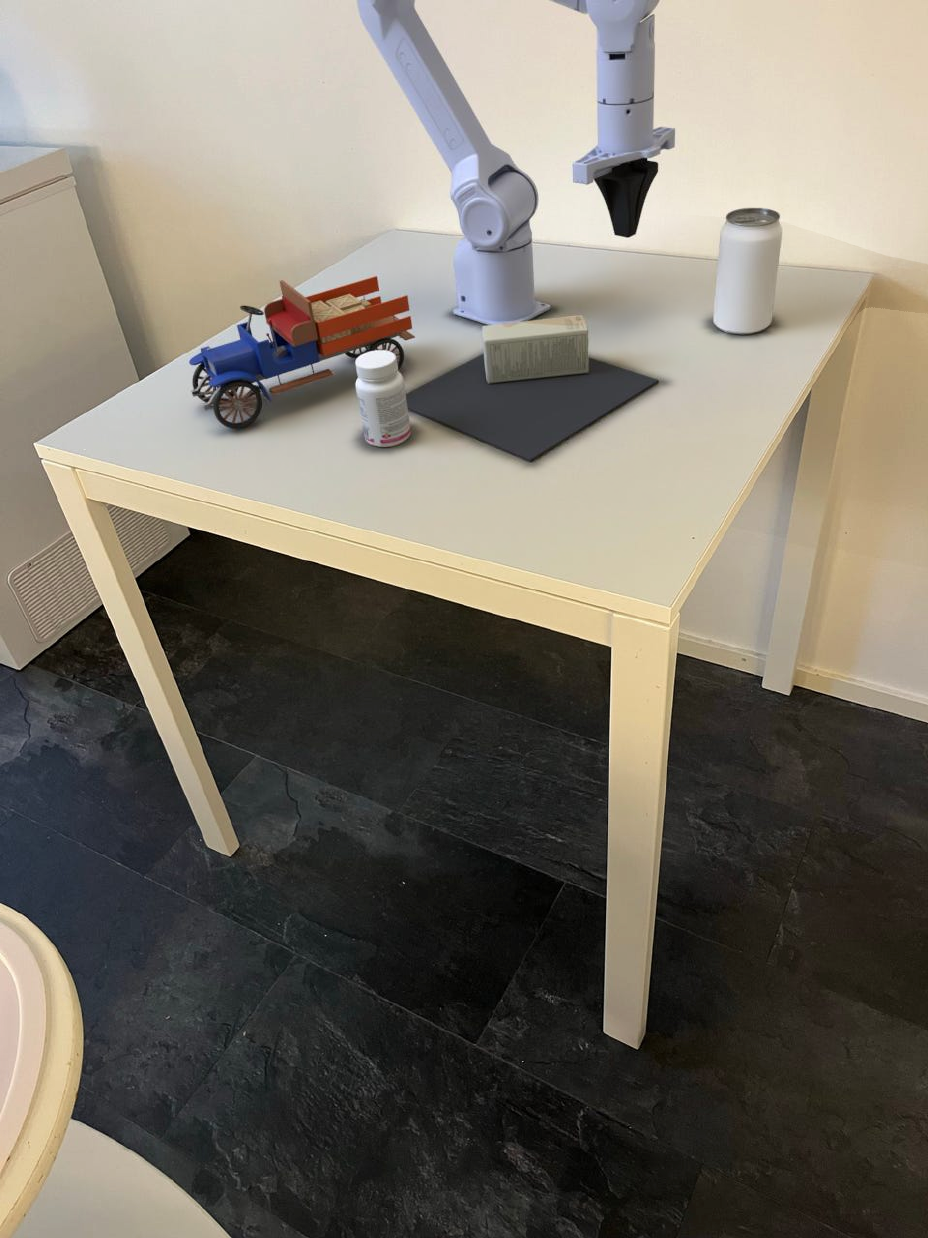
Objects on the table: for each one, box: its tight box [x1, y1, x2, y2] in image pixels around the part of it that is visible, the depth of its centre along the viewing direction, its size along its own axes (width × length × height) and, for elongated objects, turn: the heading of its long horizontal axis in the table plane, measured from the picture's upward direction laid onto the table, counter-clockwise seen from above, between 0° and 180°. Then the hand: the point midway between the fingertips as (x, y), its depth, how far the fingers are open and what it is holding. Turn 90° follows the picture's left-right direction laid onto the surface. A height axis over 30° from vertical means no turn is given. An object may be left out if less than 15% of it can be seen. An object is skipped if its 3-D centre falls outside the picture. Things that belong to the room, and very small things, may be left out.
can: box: [712, 207, 783, 336], centre depth 106 cm, size 6×6×12 cm
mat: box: [406, 353, 660, 463], centre depth 102 cm, size 20×20×1 cm
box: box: [481, 314, 590, 384], centre depth 103 cm, size 5×4×11 cm
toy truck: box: [188, 275, 416, 430], centre depth 104 cm, size 8×25×11 cm, turn 120°
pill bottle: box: [354, 349, 412, 448], centre depth 95 cm, size 5×5×8 cm
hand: (625, 234), depth 106 cm, fingers closed
